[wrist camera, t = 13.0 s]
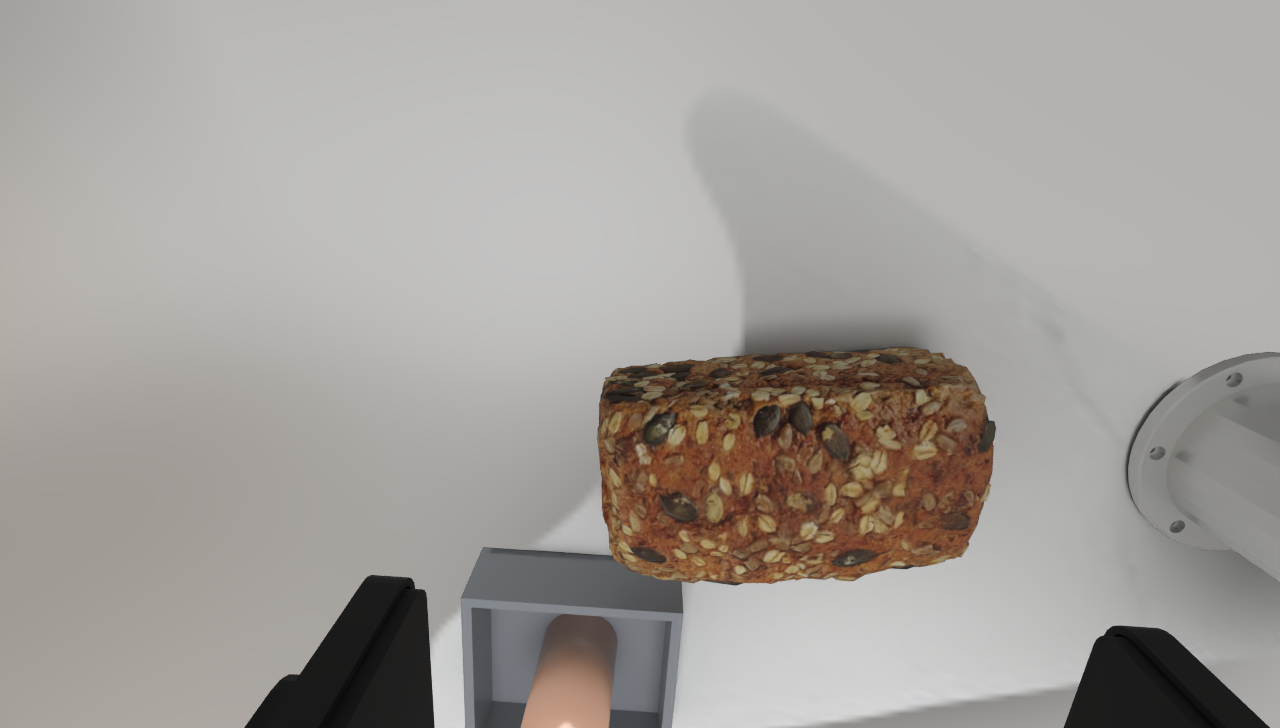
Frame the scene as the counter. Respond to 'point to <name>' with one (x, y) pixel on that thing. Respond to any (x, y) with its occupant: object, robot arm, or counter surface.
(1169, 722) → the robot arm
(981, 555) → the counter surface
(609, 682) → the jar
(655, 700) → the bin
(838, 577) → the bread
